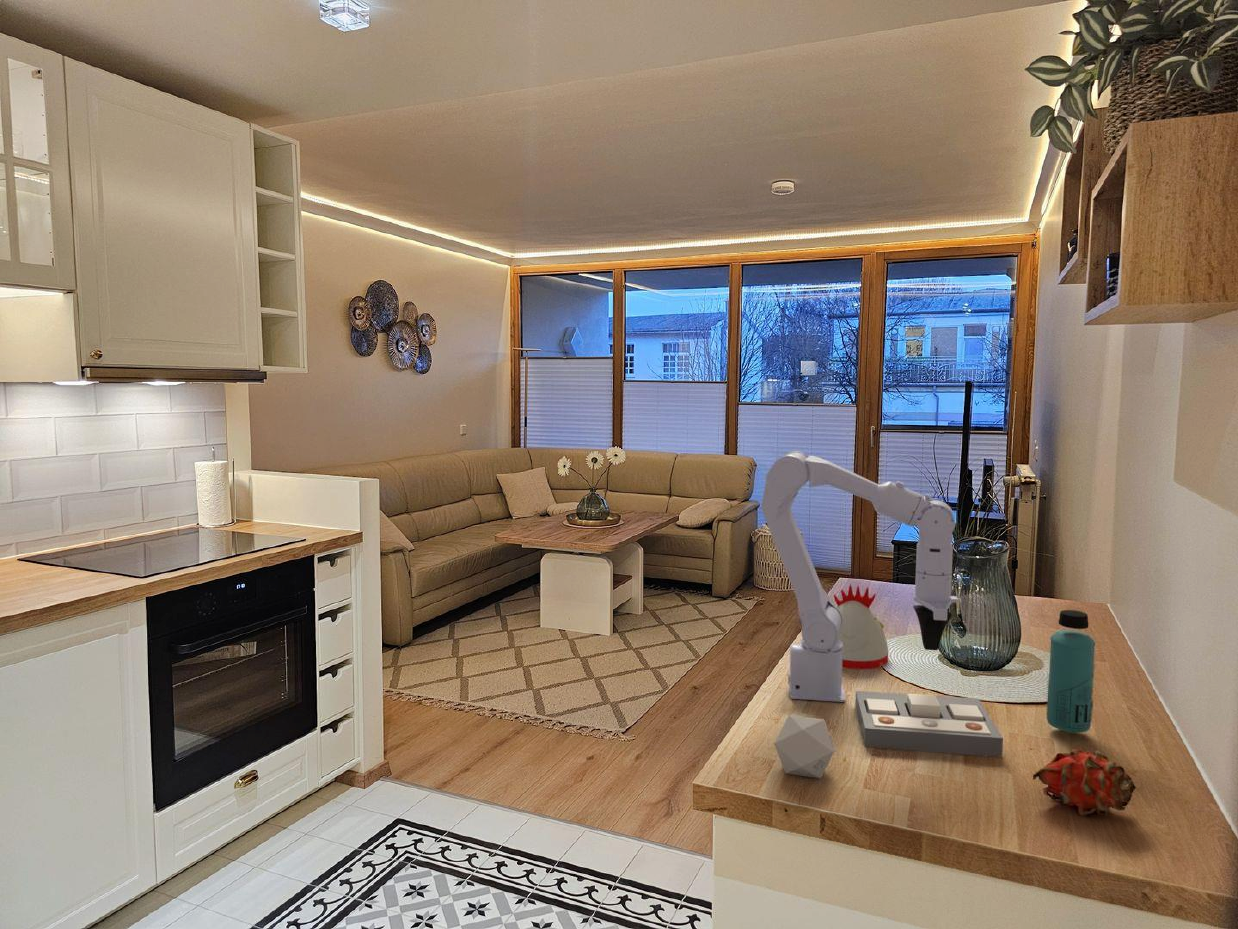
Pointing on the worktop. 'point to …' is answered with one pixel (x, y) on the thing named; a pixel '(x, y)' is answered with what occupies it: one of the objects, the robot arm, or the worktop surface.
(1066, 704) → the beverage bottle
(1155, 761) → the worktop surface
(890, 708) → the left button
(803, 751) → the die
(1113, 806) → the dragon fruit
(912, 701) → the middle button
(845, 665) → the kitchen timer
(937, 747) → the button board
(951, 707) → the right button
